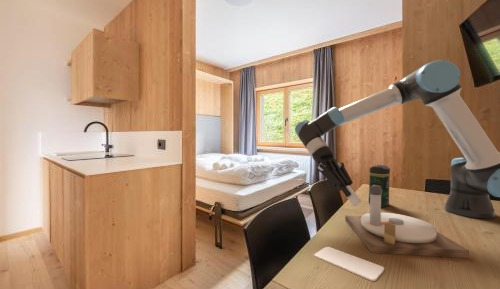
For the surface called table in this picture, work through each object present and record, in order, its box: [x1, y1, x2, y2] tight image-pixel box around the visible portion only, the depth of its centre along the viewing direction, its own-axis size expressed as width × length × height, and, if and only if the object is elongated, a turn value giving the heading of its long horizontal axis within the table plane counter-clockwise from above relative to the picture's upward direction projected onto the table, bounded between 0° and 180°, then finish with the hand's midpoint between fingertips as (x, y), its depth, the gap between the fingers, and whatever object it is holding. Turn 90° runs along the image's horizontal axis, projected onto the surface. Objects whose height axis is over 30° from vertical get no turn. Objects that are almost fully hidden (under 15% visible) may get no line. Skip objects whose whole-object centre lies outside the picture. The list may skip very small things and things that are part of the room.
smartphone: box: [314, 246, 385, 282], centre depth 57 cm, size 7×1×15 cm
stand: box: [344, 215, 470, 259], centre depth 72 cm, size 24×24×7 cm
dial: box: [360, 185, 438, 243], centre depth 72 cm, size 20×20×14 cm
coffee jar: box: [368, 164, 391, 208], centre depth 107 cm, size 10×8×19 cm
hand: (357, 203), depth 76 cm, fingers closed
